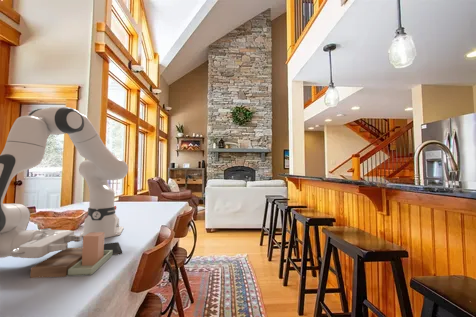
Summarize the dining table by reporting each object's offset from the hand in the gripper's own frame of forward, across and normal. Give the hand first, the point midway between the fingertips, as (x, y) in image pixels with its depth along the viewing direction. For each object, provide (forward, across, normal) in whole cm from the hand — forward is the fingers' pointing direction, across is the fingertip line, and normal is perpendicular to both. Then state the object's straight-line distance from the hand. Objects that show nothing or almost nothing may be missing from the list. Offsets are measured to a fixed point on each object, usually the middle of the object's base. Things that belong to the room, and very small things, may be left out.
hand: (74, 242), depth 85 cm
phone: (+7, +15, +8) cm, 18 cm away
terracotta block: (+7, 0, +7) cm, 10 cm away
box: (+7, 0, +8) cm, 10 cm away
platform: (-2, 0, +8) cm, 8 cm away
